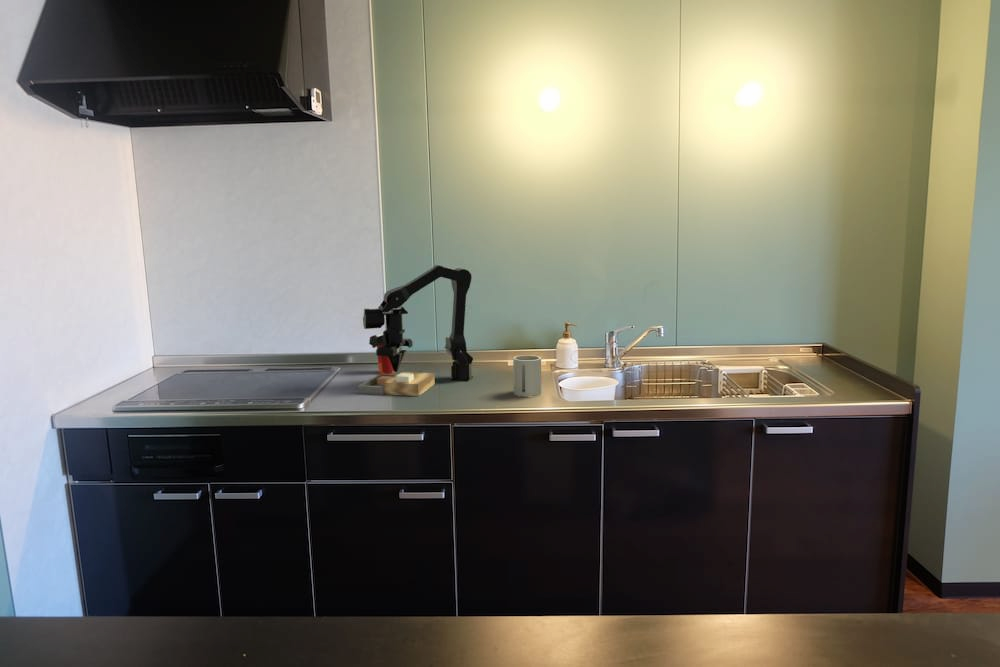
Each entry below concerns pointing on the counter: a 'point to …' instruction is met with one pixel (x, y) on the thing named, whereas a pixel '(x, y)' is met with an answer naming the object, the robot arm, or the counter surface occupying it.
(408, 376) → the off-white tile
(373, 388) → the box
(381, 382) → the terracotta tile
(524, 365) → the cup
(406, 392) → the wooden flat block
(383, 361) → the paper cup
